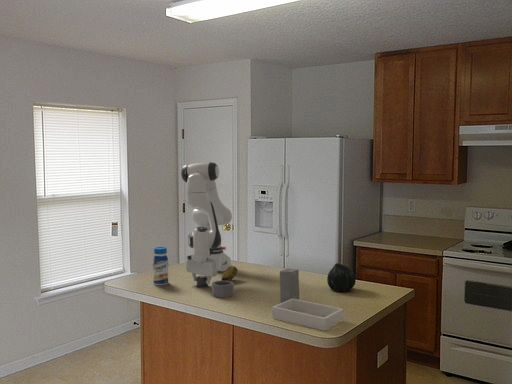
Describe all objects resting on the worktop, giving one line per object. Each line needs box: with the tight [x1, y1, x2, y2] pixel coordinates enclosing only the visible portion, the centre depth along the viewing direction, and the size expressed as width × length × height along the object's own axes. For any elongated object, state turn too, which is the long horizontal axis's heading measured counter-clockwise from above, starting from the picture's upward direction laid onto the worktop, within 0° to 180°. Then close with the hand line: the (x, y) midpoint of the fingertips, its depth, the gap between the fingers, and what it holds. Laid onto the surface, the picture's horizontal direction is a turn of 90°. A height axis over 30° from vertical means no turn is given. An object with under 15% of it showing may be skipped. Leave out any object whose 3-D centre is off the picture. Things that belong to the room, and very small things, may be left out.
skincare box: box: [279, 268, 300, 303], centre depth 237 cm, size 8×7×16 cm
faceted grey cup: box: [211, 280, 235, 299], centre depth 250 cm, size 11×11×6 cm
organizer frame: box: [271, 298, 344, 331], centre depth 212 cm, size 16×26×5 cm, turn 52°
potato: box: [220, 266, 238, 281], centre depth 276 cm, size 8×13×8 cm, turn 139°
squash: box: [326, 263, 356, 293], centre depth 258 cm, size 14×15×15 cm
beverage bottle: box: [152, 246, 169, 286], centre depth 271 cm, size 8×8×20 cm
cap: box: [196, 275, 209, 289], centre depth 267 cm, size 6×6×5 cm
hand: (201, 282), depth 266 cm, fingers open, 8 cm apart
